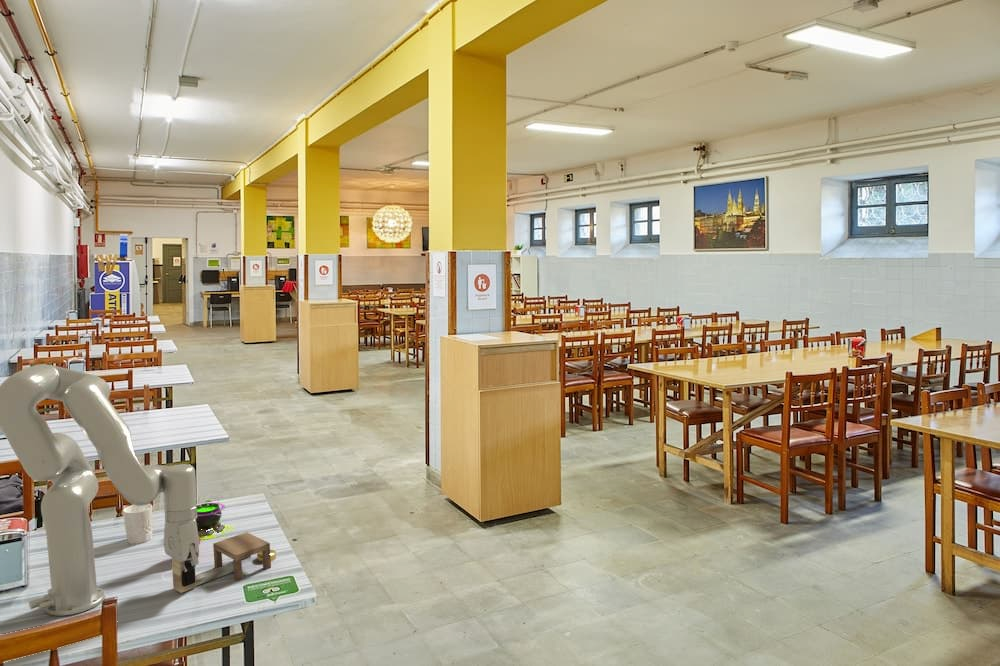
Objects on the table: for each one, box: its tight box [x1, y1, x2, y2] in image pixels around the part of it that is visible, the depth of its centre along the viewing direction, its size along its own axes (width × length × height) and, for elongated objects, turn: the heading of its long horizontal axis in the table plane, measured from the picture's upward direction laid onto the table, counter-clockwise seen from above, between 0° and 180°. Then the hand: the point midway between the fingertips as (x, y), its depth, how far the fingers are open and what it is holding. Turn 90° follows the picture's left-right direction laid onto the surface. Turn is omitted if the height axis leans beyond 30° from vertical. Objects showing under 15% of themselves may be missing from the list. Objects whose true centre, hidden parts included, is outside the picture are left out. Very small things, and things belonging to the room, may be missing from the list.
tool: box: [171, 556, 234, 594], centre depth 185 cm, size 17×4×9 cm, turn 140°
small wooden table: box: [212, 531, 272, 581], centre depth 192 cm, size 10×12×7 cm
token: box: [256, 549, 277, 564], centre depth 198 cm, size 5×5×2 cm
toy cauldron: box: [196, 494, 233, 541], centre depth 218 cm, size 15×15×11 cm
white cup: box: [122, 503, 154, 545], centre depth 211 cm, size 8×8×10 cm
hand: (184, 580), depth 180 cm, fingers closed on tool, 4 cm apart
